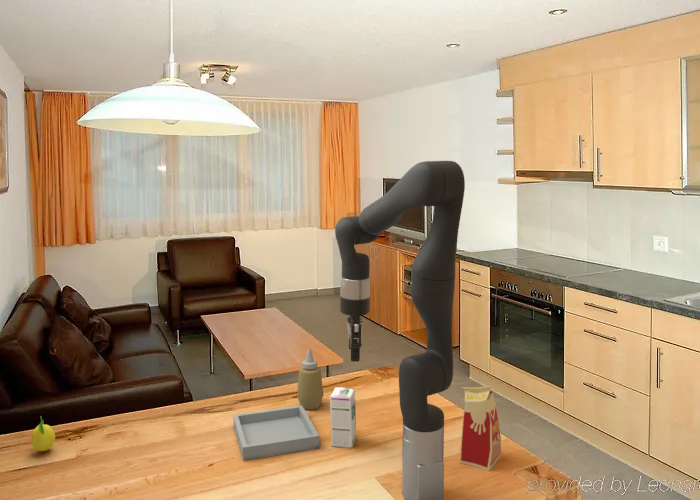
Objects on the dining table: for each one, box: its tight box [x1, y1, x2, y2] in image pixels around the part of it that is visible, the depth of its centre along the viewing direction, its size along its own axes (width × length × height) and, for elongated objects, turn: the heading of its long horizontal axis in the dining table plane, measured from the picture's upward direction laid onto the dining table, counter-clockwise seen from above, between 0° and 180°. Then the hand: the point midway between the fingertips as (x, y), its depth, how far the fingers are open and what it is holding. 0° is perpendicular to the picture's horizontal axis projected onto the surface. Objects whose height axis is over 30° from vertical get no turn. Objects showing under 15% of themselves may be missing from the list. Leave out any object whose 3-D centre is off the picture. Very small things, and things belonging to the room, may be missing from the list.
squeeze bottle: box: [296, 349, 324, 411], centre depth 183 cm, size 8×8×18 cm
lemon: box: [30, 415, 56, 452], centre depth 157 cm, size 7×6×10 cm
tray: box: [232, 405, 320, 461], centre depth 165 cm, size 20×20×4 cm
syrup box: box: [329, 386, 357, 449], centre depth 161 cm, size 6×6×14 cm
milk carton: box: [459, 385, 503, 472], centre depth 151 cm, size 9×9×20 cm
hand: (354, 354), depth 156 cm, fingers open, 8 cm apart
